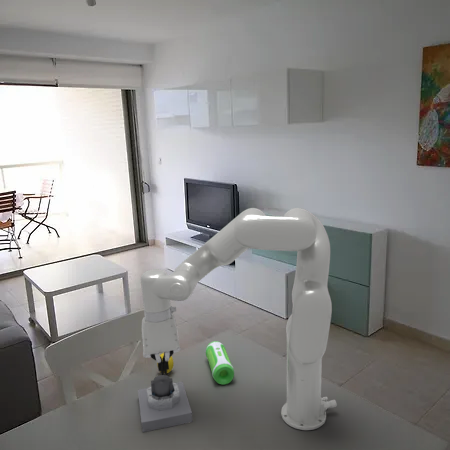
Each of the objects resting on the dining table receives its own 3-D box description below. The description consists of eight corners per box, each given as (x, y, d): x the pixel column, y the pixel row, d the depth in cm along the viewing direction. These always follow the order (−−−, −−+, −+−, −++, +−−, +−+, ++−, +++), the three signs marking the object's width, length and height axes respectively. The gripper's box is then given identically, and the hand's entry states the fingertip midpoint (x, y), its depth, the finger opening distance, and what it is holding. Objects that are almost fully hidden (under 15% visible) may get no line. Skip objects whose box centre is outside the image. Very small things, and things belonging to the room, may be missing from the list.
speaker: (205, 359, 153) (204, 340, 152) (224, 357, 155) (224, 338, 153) (213, 387, 137) (212, 366, 135) (235, 384, 138) (235, 363, 136)
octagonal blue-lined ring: (176, 389, 131) (175, 379, 130) (181, 406, 123) (180, 396, 122) (146, 394, 129) (146, 384, 128) (149, 413, 120) (148, 402, 120)
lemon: (175, 369, 148) (174, 348, 146) (172, 378, 142) (170, 357, 140) (160, 369, 148) (158, 348, 146) (156, 378, 143) (154, 356, 141)
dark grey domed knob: (173, 394, 128) (171, 373, 127) (173, 404, 124) (172, 382, 122) (152, 397, 127) (150, 376, 126) (152, 406, 123) (150, 385, 121)
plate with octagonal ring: (183, 389, 136) (182, 381, 135) (192, 422, 121) (191, 412, 120) (138, 398, 132) (137, 389, 132) (142, 432, 117) (141, 422, 116)
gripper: (181, 304, 125) (186, 360, 129) (130, 312, 121) (137, 370, 125) (186, 314, 118) (191, 373, 122) (131, 323, 114) (138, 384, 118)
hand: (163, 372), depth 124 cm, fingers closed
